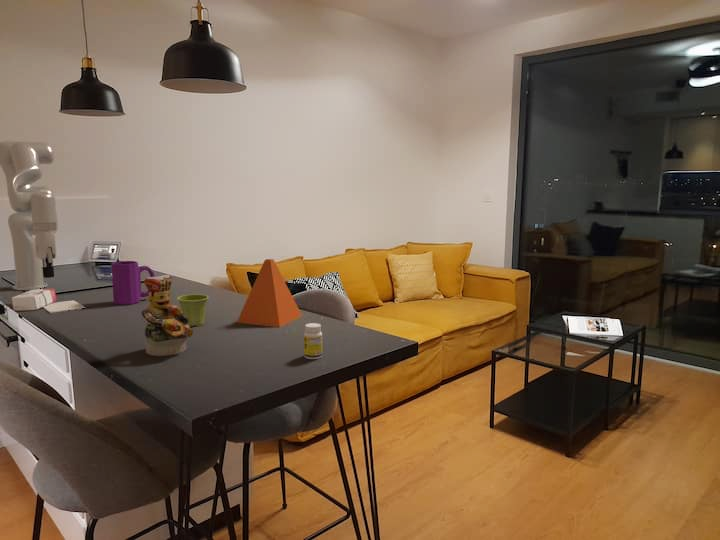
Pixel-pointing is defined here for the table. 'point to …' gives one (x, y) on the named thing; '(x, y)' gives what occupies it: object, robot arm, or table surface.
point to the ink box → (33, 299)
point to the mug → (128, 282)
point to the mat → (62, 306)
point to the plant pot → (193, 308)
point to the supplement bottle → (313, 341)
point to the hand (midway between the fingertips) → (48, 277)
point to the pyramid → (269, 299)
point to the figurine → (164, 320)
